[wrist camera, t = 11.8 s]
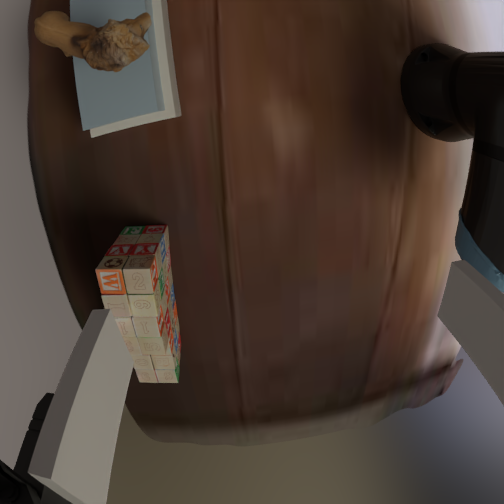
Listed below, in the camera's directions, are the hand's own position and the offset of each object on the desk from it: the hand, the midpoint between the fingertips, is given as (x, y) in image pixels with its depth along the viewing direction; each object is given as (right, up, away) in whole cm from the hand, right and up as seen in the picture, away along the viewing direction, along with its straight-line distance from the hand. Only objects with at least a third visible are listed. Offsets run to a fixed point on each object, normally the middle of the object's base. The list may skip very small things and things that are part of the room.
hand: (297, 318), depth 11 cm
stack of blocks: (-16, -3, +35) cm, 38 cm away
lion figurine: (-16, +23, +11) cm, 30 cm away
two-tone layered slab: (-16, +26, +19) cm, 36 cm away
